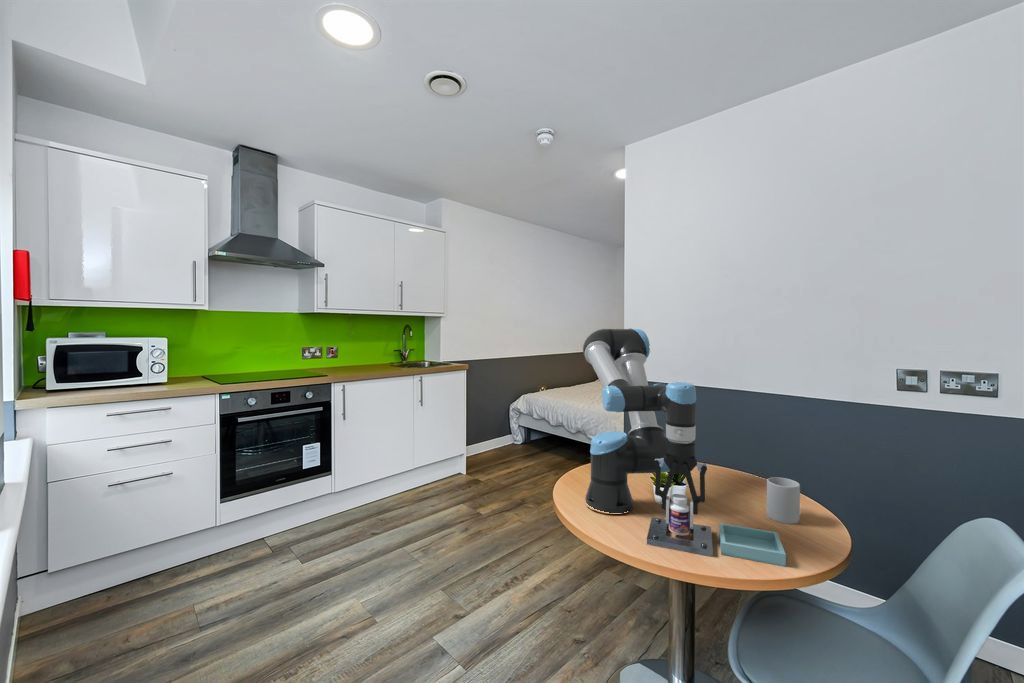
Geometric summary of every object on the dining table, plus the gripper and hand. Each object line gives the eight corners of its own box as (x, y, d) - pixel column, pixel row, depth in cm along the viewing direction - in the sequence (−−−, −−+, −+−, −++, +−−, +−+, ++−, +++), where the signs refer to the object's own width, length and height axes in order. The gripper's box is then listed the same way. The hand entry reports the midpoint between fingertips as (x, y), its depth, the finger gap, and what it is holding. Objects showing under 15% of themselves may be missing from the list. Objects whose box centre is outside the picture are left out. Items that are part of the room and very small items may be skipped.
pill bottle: (668, 534, 115) (669, 499, 115) (668, 525, 120) (669, 491, 120) (690, 537, 113) (690, 501, 113) (689, 528, 118) (689, 494, 118)
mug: (804, 525, 123) (805, 488, 123) (771, 522, 125) (771, 485, 125) (789, 508, 135) (790, 474, 134) (759, 505, 137) (760, 472, 137)
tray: (721, 554, 108) (721, 542, 108) (718, 533, 119) (718, 522, 119) (785, 566, 102) (785, 554, 102) (776, 543, 113) (777, 532, 113)
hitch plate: (646, 544, 113) (646, 536, 113) (651, 521, 126) (651, 515, 126) (712, 556, 107) (712, 549, 107) (711, 532, 120) (711, 525, 120)
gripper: (643, 439, 116) (643, 522, 117) (718, 447, 108) (717, 535, 110) (646, 433, 123) (646, 511, 124) (717, 439, 115) (715, 523, 116)
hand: (679, 522), depth 117 cm, fingers closed on pill bottle, 5 cm apart
